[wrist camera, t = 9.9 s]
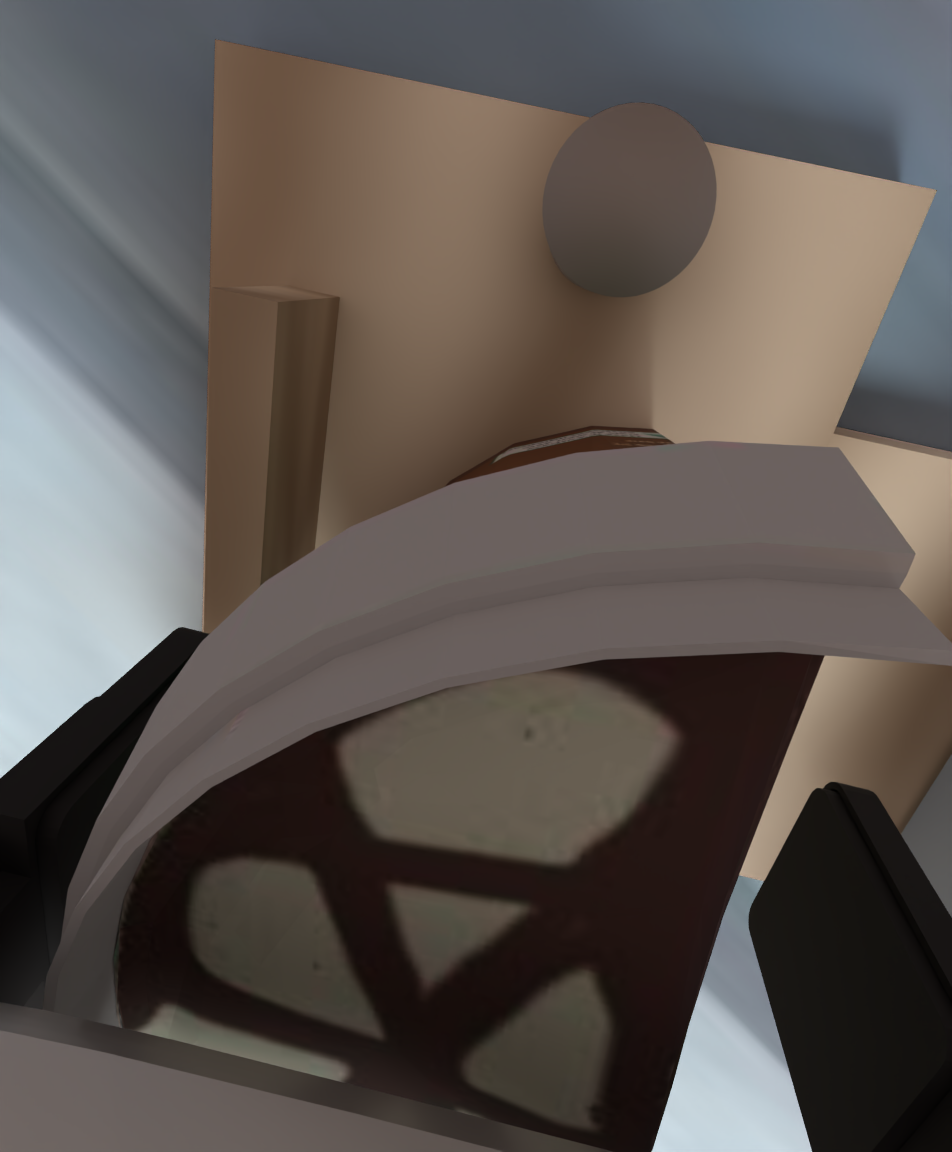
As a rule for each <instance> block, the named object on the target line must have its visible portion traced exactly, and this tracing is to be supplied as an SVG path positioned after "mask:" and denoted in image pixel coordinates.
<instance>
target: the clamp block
mask: <svg viewBox="0 0 952 1152" xmlns="http://www.w3.org/2000/svg"><path fill="white" fill-rule="evenodd" d="M901 835H902V837H903V839H904V840H905V842H906V844H907V845H908V847H909V848H910V850H911V852H912V853H913V855H914V857H915V858H916V860H917V862H918V863H919V865H920V866H921V868H922V870H923V871H924V873H925V875H926V876H927V878H928V880H929V881H930V883H931V885H932V886H933V888H934V889H935V891H936V893H937V894H938V896H939V898H940V899H941V901H942V903H943V904H944V906H945V907H946V909H947V911H948V912H949V914H950V916H951V917H952V754H951V756H950V757H949V759H948V761H947V762H946V764H945V765H944V767H943V768H942V770H941V772H940V773H939V775H938V776H937V778H936V779H935V781H934V783H933V784H932V786H931V787H930V789H929V791H928V792H927V794H926V795H925V797H924V798H923V800H922V802H921V803H920V805H919V806H918V808H917V810H916V811H915V813H914V814H913V816H912V817H911V819H910V821H909V822H908V824H907V825H906V827H905V828H904V830H903V832H902V833H901Z"/></svg>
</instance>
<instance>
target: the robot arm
mask: <svg viewBox="0 0 952 1152" xmlns="http://www.w3.org/2000/svg"><path fill="white" fill-rule="evenodd" d="M208 635H209V633H204V632H200V631H196V630H192V629H188V628H183V627H181V628H178V629H176V630H174V631H173V632H172V633H171V634H170V635H169V636H168V637H167V638H165V639H164V640H163V641H162V642H161V643H160V644H159V645H157V646H156V647H155V648H154V649H153V650H152V651H151V652H150V653H148V654H147V655H146V656H145V657H144V658H143V659H142V660H141V661H139V662H138V663H137V664H136V665H135V666H134V667H133V668H132V669H130V670H129V671H128V672H127V673H126V674H125V675H124V676H123V677H121V678H120V679H119V680H118V681H117V682H116V683H115V684H113V685H112V686H111V687H110V688H109V689H108V690H107V691H106V692H104V693H103V694H102V695H101V696H99V697H95V698H93V699H92V700H90V701H89V702H87V703H86V704H85V705H84V706H83V707H81V708H80V709H79V710H78V711H77V712H76V713H75V714H73V715H72V716H71V717H70V718H69V719H68V720H67V721H65V722H64V723H63V724H62V725H61V726H60V727H59V728H57V729H56V730H55V731H54V732H53V733H52V734H51V735H49V736H48V737H47V738H46V739H45V740H44V741H43V742H42V743H40V744H39V745H38V746H37V747H36V748H35V749H34V750H32V751H31V752H30V753H29V754H28V755H27V756H26V757H24V758H23V759H22V760H21V761H20V762H19V763H18V764H16V765H15V766H14V767H13V768H12V769H11V770H10V771H8V772H7V773H6V774H5V775H4V776H3V777H2V778H0V1152H612V1151H608V1150H605V1149H601V1148H597V1147H593V1146H589V1145H585V1144H581V1143H577V1142H574V1141H570V1140H566V1139H562V1138H558V1137H554V1136H550V1135H546V1134H543V1133H539V1132H535V1131H531V1130H527V1129H523V1128H519V1127H515V1126H512V1125H508V1124H504V1123H500V1122H496V1121H492V1120H488V1119H484V1118H481V1117H477V1116H473V1115H469V1114H465V1113H461V1112H457V1111H453V1110H449V1109H445V1108H442V1107H438V1106H434V1105H430V1104H426V1103H422V1102H418V1101H414V1100H410V1099H406V1098H403V1097H399V1096H395V1095H391V1094H387V1093H383V1092H379V1091H375V1090H371V1089H367V1088H363V1087H359V1086H355V1085H351V1084H347V1083H343V1082H339V1081H335V1080H331V1079H328V1078H324V1077H320V1076H316V1075H312V1074H308V1073H304V1072H300V1071H296V1070H292V1069H288V1068H284V1067H280V1066H276V1065H272V1064H268V1063H264V1062H260V1061H256V1060H252V1059H248V1058H244V1057H240V1056H236V1055H232V1054H228V1053H224V1052H220V1051H216V1050H212V1049H208V1048H204V1047H200V1046H196V1045H192V1044H188V1043H184V1042H180V1041H176V1040H172V1039H168V1038H164V1037H159V1036H155V1035H151V1034H146V1033H142V1032H138V1031H133V1030H129V1029H125V1028H120V1027H116V1026H112V1025H107V1024H103V1023H98V1022H94V1021H90V1020H85V1019H81V1018H77V1017H72V1016H68V1015H64V1014H59V1013H55V1012H51V1011H46V1010H42V1009H43V1001H44V993H45V985H46V976H47V973H48V971H49V969H50V966H51V964H52V961H53V959H54V957H55V954H56V952H57V949H58V947H59V945H60V942H61V936H62V928H63V921H64V914H65V907H66V900H67V893H68V888H69V885H70V883H71V881H72V878H73V876H74V873H75V871H76V868H77V866H78V864H79V861H80V859H81V856H82V854H83V851H84V849H85V846H86V844H87V842H88V839H89V837H90V834H91V832H92V829H93V827H94V825H95V822H96V820H97V818H98V816H99V814H100V813H101V811H102V809H103V807H104V805H105V803H106V801H107V799H108V797H109V795H110V793H111V792H112V790H113V788H114V786H115V784H116V782H117V780H118V778H119V776H120V774H121V772H122V771H123V769H124V767H125V765H126V763H127V761H128V759H129V757H130V755H131V753H132V751H133V750H134V748H135V746H136V744H137V742H138V740H139V738H140V736H141V734H142V732H143V730H144V729H145V727H146V725H147V723H148V721H149V719H150V717H151V715H152V713H153V711H154V709H155V708H156V706H157V704H158V703H159V702H160V700H161V699H162V697H163V696H164V694H165V693H166V692H167V690H168V689H169V687H170V686H171V684H172V683H173V682H174V680H175V679H176V677H177V676H178V674H179V673H180V672H181V670H182V669H183V667H184V666H185V664H186V663H187V662H188V660H189V659H190V657H191V656H192V654H193V653H194V652H195V650H196V649H197V647H198V646H199V644H200V643H201V642H202V641H203V640H204V639H205V638H206V637H207V636H208ZM749 930H750V935H751V938H752V942H753V945H754V949H755V952H756V956H757V959H758V963H759V966H760V970H761V973H762V977H763V980H764V984H765V987H766V991H767V994H768V998H769V1001H770V1005H771V1008H772V1012H773V1015H774V1019H775V1022H776V1026H777V1029H778V1033H779V1036H780V1040H781V1043H782V1047H783V1050H784V1054H785V1057H786V1061H787V1064H788V1068H789V1071H790V1075H791V1079H792V1082H793V1086H794V1089H795V1093H796V1096H797V1100H798V1103H799V1107H800V1110H801V1114H802V1117H803V1121H804V1124H805V1128H806V1131H807V1135H808V1138H809V1142H810V1145H811V1149H812V1152H952V917H951V916H950V914H949V912H948V911H947V909H946V907H945V906H944V904H943V903H942V901H941V899H940V898H939V896H938V894H937V893H936V891H935V889H934V888H933V886H932V885H931V883H930V881H929V880H928V878H927V876H926V875H925V873H924V871H923V870H922V868H921V866H920V865H919V863H918V862H917V860H916V858H915V857H914V855H913V853H912V852H911V850H910V848H909V847H908V845H907V844H906V842H905V840H904V839H903V837H902V835H901V834H900V832H899V830H898V829H897V827H896V826H895V824H894V822H893V821H892V819H891V817H890V816H889V814H888V812H887V811H886V809H885V807H884V806H883V804H882V803H881V801H880V799H879V798H878V796H877V795H876V794H875V793H874V792H872V791H870V790H868V789H863V788H859V787H855V786H851V785H847V784H842V783H838V782H829V783H828V784H826V785H825V786H824V788H823V789H822V788H816V789H815V790H813V791H812V793H811V794H810V796H809V798H808V800H807V802H806V803H805V805H804V807H803V809H802V811H801V813H800V815H799V817H798V819H797V820H796V822H795V824H794V826H793V828H792V830H791V832H790V834H789V835H788V837H787V839H786V841H785V843H784V845H783V847H782V849H781V851H780V852H779V854H778V856H777V858H776V860H775V862H774V864H773V866H772V867H771V869H770V871H769V873H768V875H767V877H766V879H765V881H764V883H763V884H762V886H761V888H760V890H759V892H758V894H757V896H756V898H755V899H754V901H753V903H752V905H751V908H750V912H749Z"/></svg>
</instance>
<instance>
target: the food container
mask: <svg viewBox="0 0 952 1152" xmlns="http://www.w3.org/2000/svg"><path fill="white" fill-rule="evenodd" d="M915 554H916V553H915V552H914V551H913V549H912V548H911V546H910V545H909V544H908V542H907V541H906V540H905V538H904V537H903V535H902V534H901V533H900V531H899V530H898V528H897V527H896V526H895V524H894V523H893V522H892V520H891V519H890V517H889V516H888V515H887V513H886V512H885V511H884V509H883V508H882V506H881V505H880V504H879V502H878V501H877V499H876V498H875V497H874V495H873V494H872V493H871V491H870V490H869V488H868V487H867V486H866V484H865V483H864V481H863V480H862V479H861V477H860V476H859V475H858V473H857V472H856V470H855V469H854V468H853V466H852V465H851V463H850V462H849V461H848V459H847V458H846V457H845V455H844V454H843V452H842V451H841V450H840V448H839V447H820V446H800V445H781V444H762V443H742V442H723V441H700V442H689V443H678V444H675V443H674V442H672V441H671V440H669V439H668V438H666V437H665V436H663V435H662V434H660V433H659V432H657V431H656V430H654V429H647V428H627V427H608V426H588V427H584V428H579V429H575V430H571V431H566V432H562V433H557V434H553V435H548V436H544V437H539V438H535V439H531V440H526V441H522V442H517V443H514V444H512V445H510V446H508V447H507V448H505V449H503V450H502V451H500V452H498V453H497V454H495V455H493V456H491V457H490V458H488V459H486V460H485V461H483V462H481V463H479V464H478V465H476V466H474V467H473V468H471V469H469V470H468V471H466V472H464V473H462V474H461V475H459V476H457V477H456V478H454V479H452V480H450V481H449V482H448V484H447V485H446V486H445V487H443V488H441V489H439V490H436V491H434V492H432V493H429V494H427V495H425V496H422V497H420V498H417V499H415V500H413V501H410V502H408V503H406V504H403V505H401V506H399V507H396V508H394V509H391V510H389V511H387V512H384V513H382V514H380V515H377V516H375V517H373V518H370V519H368V520H365V521H363V522H361V523H358V524H356V525H354V526H351V527H349V528H348V529H346V530H345V531H343V532H342V533H340V534H338V535H337V536H335V537H334V538H332V539H331V540H329V541H328V542H326V543H324V544H323V545H321V546H320V547H318V548H317V549H315V550H314V551H312V552H310V553H309V554H307V555H306V556H304V557H303V558H301V559H300V560H298V561H296V562H295V563H293V564H292V565H290V566H289V567H287V568H286V569H284V570H282V571H281V572H279V573H278V574H276V575H275V576H273V577H272V578H270V579H268V580H267V581H265V582H264V583H263V584H262V585H261V586H260V587H259V588H258V589H257V590H256V591H255V592H254V593H253V594H252V595H250V596H249V597H248V598H247V599H246V600H245V601H244V602H243V603H242V604H241V605H240V606H239V607H238V608H237V609H236V610H235V611H234V612H232V613H231V614H230V615H229V616H228V617H227V618H226V619H225V620H224V621H223V622H222V623H221V624H220V625H219V626H218V627H217V628H216V629H214V630H213V631H212V632H211V633H210V634H209V635H208V636H207V637H206V638H205V639H204V640H203V641H202V642H201V643H200V644H199V646H198V647H197V649H196V650H195V652H194V653H193V654H192V656H191V657H190V659H189V660H188V662H187V663H186V664H185V666H184V667H183V669H182V670H181V672H180V673H179V674H178V676H177V677H176V679H175V680H174V682H173V683H172V684H171V686H170V687H169V689H168V690H167V692H166V693H165V694H164V696H163V697H162V699H161V700H160V702H159V703H158V704H157V706H156V708H155V709H154V711H153V713H152V715H151V717H150V719H149V721H148V723H147V725H146V727H145V729H144V730H143V732H142V734H141V736H140V738H139V740H138V742H137V744H136V746H135V748H134V750H133V751H132V753H131V755H130V757H129V759H128V761H127V763H126V765H125V767H124V769H123V771H122V772H121V774H120V776H119V778H118V780H117V782H116V784H115V786H114V788H113V790H112V792H111V793H110V795H109V797H108V799H107V801H106V803H105V805H104V807H103V809H102V811H101V813H100V814H99V816H98V818H97V820H96V822H95V825H94V827H93V829H92V832H91V834H90V837H89V839H88V842H87V844H86V846H85V849H84V851H83V854H82V856H81V859H80V861H79V864H78V866H77V868H76V871H75V873H74V876H73V878H72V881H71V883H70V885H69V888H68V893H67V900H66V907H65V914H64V921H63V928H62V936H61V942H60V945H59V947H58V949H57V952H56V954H55V957H54V959H53V961H52V964H51V966H50V969H49V971H48V973H47V976H46V985H45V993H44V1001H43V1009H42V1010H46V1011H51V1012H55V1013H59V1014H64V1015H68V1016H72V1017H77V1018H81V1019H85V1020H90V1021H94V1022H98V1023H103V1024H107V1025H112V1026H116V1027H120V1028H125V1029H129V1030H133V1031H138V1032H142V1033H146V1034H151V1035H155V1036H159V1037H164V1038H168V1039H172V1040H176V1041H180V1042H184V1043H188V1044H192V1045H196V1046H200V1047H204V1048H208V1049H212V1050H216V1051H220V1052H224V1053H228V1054H232V1055H236V1056H240V1057H244V1058H248V1059H252V1060H256V1061H260V1062H264V1063H268V1064H272V1065H276V1066H280V1067H284V1068H288V1069H292V1070H296V1071H300V1072H304V1073H308V1074H312V1075H316V1076H320V1077H324V1078H328V1079H331V1080H335V1081H339V1082H343V1083H347V1084H351V1085H355V1086H359V1087H363V1088H367V1089H371V1090H375V1091H379V1092H383V1093H387V1094H391V1095H395V1096H399V1097H403V1098H406V1099H410V1100H414V1101H418V1102H422V1103H426V1104H430V1105H434V1106H438V1107H442V1108H445V1109H449V1110H453V1111H457V1112H461V1113H465V1114H469V1115H473V1116H477V1117H481V1118H484V1119H488V1120H492V1121H496V1122H500V1123H504V1124H508V1125H512V1126H515V1127H519V1128H523V1129H527V1130H531V1131H535V1132H539V1133H543V1134H546V1135H550V1136H554V1137H558V1138H562V1139H566V1140H570V1141H574V1142H577V1143H581V1144H585V1145H589V1146H593V1147H597V1148H601V1149H605V1150H608V1151H612V1152H651V1151H652V1149H653V1146H654V1143H655V1140H656V1136H657V1133H658V1130H659V1127H660V1124H661V1120H662V1117H663V1114H664V1111H665V1107H666V1104H667V1101H668V1098H669V1095H670V1091H671V1088H672V1085H673V1081H674V1077H675V1074H676V1070H677V1066H678V1062H679V1059H680V1055H681V1051H682V1048H683V1044H684V1040H685V1037H686V1033H687V1029H688V1026H689V1023H690V1019H691V1016H692V1013H693V1010H694V1007H695V1004H696V1000H697V997H698V994H699V991H700V988H701V985H702V981H703V978H704V975H705V972H706V969H707V966H708V962H709V959H710V956H711V953H712V950H713V947H714V943H715V940H716V937H717V934H718V931H719V928H720V924H721V921H722V918H723V915H724V912H725V910H726V907H727V905H728V902H729V900H730V897H731V894H732V892H733V889H734V887H735V884H736V881H737V879H738V876H739V874H740V871H741V869H742V866H743V863H744V861H745V858H746V856H747V853H748V850H749V848H750V845H751V843H752V840H753V838H754V835H755V832H756V830H757V827H758V825H759V822H760V820H761V817H762V814H763V812H764V809H765V807H766V804H767V801H768V799H769V796H770V794H771V791H772V789H773V786H774V783H775V781H776V778H777V776H778V773H779V770H780V768H781V765H782V763H783V760H784V758H785V755H786V753H787V750H788V747H789V745H790V742H791V740H792V737H793V735H794V732H795V730H796V727H797V725H798V722H799V720H800V717H801V715H802V712H803V710H804V707H805V705H806V702H807V699H808V697H809V694H810V692H811V689H812V687H813V684H814V682H815V679H816V677H817V674H818V672H819V669H820V667H821V664H822V662H823V659H824V657H825V656H838V657H850V658H862V659H874V660H886V661H899V662H911V663H923V664H935V665H948V666H952V643H951V642H950V641H949V640H948V639H947V638H946V637H945V636H944V635H943V634H942V632H941V631H940V630H939V629H938V628H937V627H936V626H935V625H934V624H933V623H932V622H931V621H930V620H929V619H928V618H927V617H926V616H925V615H924V614H923V613H922V612H921V611H920V610H919V609H918V607H917V606H916V605H915V604H914V603H913V602H912V601H911V600H910V599H909V598H908V597H907V596H906V595H905V594H904V593H903V592H902V591H901V590H900V589H899V588H900V586H901V585H902V583H903V581H904V579H905V577H906V576H907V574H908V572H909V569H910V567H911V564H912V562H913V559H914V557H915Z"/></svg>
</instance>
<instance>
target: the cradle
mask: <svg viewBox="0 0 952 1152" xmlns="http://www.w3.org/2000/svg"><path fill="white" fill-rule="evenodd" d="M936 191H937V190H934V189H929V188H924V187H919V186H915V185H910V184H905V183H900V182H895V181H891V180H886V179H881V178H876V177H872V176H867V175H862V174H857V173H852V172H848V171H843V170H838V169H833V168H828V167H824V166H819V165H814V164H809V163H805V162H800V161H795V160H790V159H785V158H781V157H776V156H771V155H766V154H762V153H757V152H752V151H747V150H742V149H738V148H733V147H728V146H723V145H718V144H714V143H709V142H704V140H703V139H702V137H701V136H700V134H699V133H698V132H697V130H696V129H695V128H694V127H693V126H692V125H691V124H690V123H689V122H688V121H687V120H686V119H685V118H683V117H682V116H680V115H679V114H677V113H676V112H674V111H672V110H670V109H668V108H665V107H662V106H659V105H655V104H650V103H627V104H621V105H617V106H614V107H611V108H608V109H605V110H603V111H602V112H600V113H598V114H596V115H594V116H593V117H591V118H589V117H585V116H580V115H575V114H570V113H565V112H561V111H556V110H551V109H546V108H542V107H537V106H532V105H527V104H522V103H518V102H513V101H508V100H503V99H499V98H494V97H489V96H484V95H479V94H475V93H470V92H465V91H460V90H455V89H451V88H446V87H441V86H436V85H432V84H427V83H422V82H417V81H412V80H408V79H403V78H398V77H393V76H389V75H384V74H379V73H374V72H369V71H365V70H360V69H355V68H350V67H345V66H341V65H336V64H331V63H326V62H322V61H317V60H312V59H307V58H302V57H298V56H293V55H288V54H283V53H279V52H274V51H269V50H264V49H259V48H255V47H250V46H245V45H240V44H235V43H231V42H226V41H221V40H216V39H215V68H214V114H213V160H212V206H211V252H210V298H209V344H208V390H207V436H206V481H205V527H204V573H203V619H202V632H204V633H209V634H210V633H211V632H212V631H213V630H214V629H216V628H217V627H218V626H219V625H220V624H221V623H222V622H223V621H224V620H225V619H226V618H227V617H228V616H229V615H230V614H231V613H232V612H234V611H235V610H236V609H237V608H238V607H239V606H240V605H241V604H242V603H243V602H244V601H245V600H246V599H247V598H248V597H249V596H250V595H252V594H253V593H254V592H255V591H256V590H257V589H258V588H259V587H260V586H261V585H262V584H263V583H264V582H265V581H267V580H268V579H270V578H272V577H273V576H275V575H276V574H278V573H279V572H281V571H282V570H284V569H286V568H287V567H289V566H290V565H292V564H293V563H295V562H296V561H298V560H300V559H301V558H303V557H304V556H306V555H307V554H309V553H310V552H312V551H314V550H315V549H317V548H318V547H320V546H321V545H323V544H324V543H326V542H328V541H329V540H331V539H332V538H334V537H335V536H337V535H338V534H340V533H342V532H343V531H345V530H346V529H348V528H349V527H351V526H354V525H356V524H358V523H361V522H363V521H365V520H368V519H370V518H373V517H375V516H377V515H380V514H382V513H384V512H387V511H389V510H391V509H394V508H396V507H399V506H401V505H403V504H406V503H408V502H410V501H413V500H415V499H417V498H420V497H422V496H425V495H427V494H429V493H432V492H434V491H436V490H439V489H441V488H443V487H445V486H446V485H447V484H448V482H449V481H450V480H452V479H454V478H456V477H457V476H459V475H461V474H462V473H464V472H466V471H468V470H469V469H471V468H473V467H474V466H476V465H478V464H479V463H481V462H483V461H485V460H486V459H488V458H490V457H491V456H493V455H495V454H497V453H498V452H500V451H502V450H503V449H505V448H507V447H508V446H510V445H512V444H514V443H517V442H522V441H526V440H531V439H535V438H539V437H544V436H548V435H553V434H557V433H562V432H566V431H571V430H575V429H579V428H584V427H588V426H608V427H627V428H647V429H654V430H656V431H657V432H659V433H660V434H662V435H663V436H665V437H666V438H668V439H669V440H671V441H672V442H674V443H675V444H678V443H689V442H700V441H723V442H742V443H762V444H781V445H800V446H820V447H839V448H840V450H841V451H842V452H843V454H844V455H845V457H846V458H847V459H848V461H849V462H850V463H851V465H852V466H853V468H854V469H855V470H856V472H857V473H858V475H859V476H860V477H861V479H862V480H863V481H864V483H865V484H866V486H867V487H868V488H869V490H870V491H871V493H872V494H873V495H874V497H875V498H876V499H877V501H878V502H879V504H880V505H881V506H882V508H883V509H884V511H885V512H886V513H887V515H888V516H889V517H890V519H891V520H892V522H893V523H894V524H895V526H896V527H897V528H898V530H899V531H900V533H901V534H902V535H903V537H904V538H905V540H906V541H907V542H908V544H909V545H910V546H911V548H912V549H913V551H914V552H915V553H916V554H915V557H914V559H913V562H912V564H911V567H910V569H909V572H908V574H907V576H906V577H905V579H904V581H903V583H902V585H901V586H900V588H899V589H900V590H901V591H902V592H903V593H904V594H905V595H906V596H907V597H908V598H909V599H910V600H911V601H912V602H913V603H914V604H915V605H916V606H917V607H918V609H919V610H920V611H921V612H922V613H923V614H924V615H925V616H926V617H927V618H928V619H929V620H930V621H931V622H932V623H933V624H934V625H935V626H936V627H937V628H938V629H939V630H940V631H941V632H942V634H943V635H944V636H945V637H946V638H947V639H948V640H949V641H950V642H951V643H952V452H950V451H945V450H941V449H936V448H932V447H927V446H923V445H918V444H913V443H909V442H904V441H900V440H895V439H890V438H886V437H881V436H877V435H872V434H868V433H863V432H858V431H854V430H849V429H845V428H840V427H836V426H837V424H838V421H839V419H840V417H841V414H842V412H843V410H844V407H845V405H846V403H847V400H848V398H849V396H850V393H851V391H852V389H853V386H854V384H855V381H856V379H857V377H858V374H859V372H860V370H861V367H862V365H863V363H864V360H865V358H866V356H867V353H868V351H869V349H870V346H871V344H872V342H873V339H874V337H875V335H876V332H877V330H878V327H879V325H880V323H881V320H882V318H883V316H884V313H885V311H886V309H887V306H888V304H889V302H890V299H891V297H892V295H893V292H894V290H895V288H896V285H897V283H898V281H899V278H900V276H901V273H902V271H903V269H904V266H905V264H906V262H907V259H908V257H909V255H910V252H911V250H912V248H913V245H914V243H915V241H916V238H917V236H918V234H919V231H920V229H921V227H922V224H923V222H924V219H925V217H926V215H927V212H928V210H929V208H930V205H931V203H932V201H933V198H934V196H935V194H936ZM951 754H952V666H948V665H935V664H923V663H911V662H899V661H886V660H874V659H862V658H850V657H838V656H825V657H824V659H823V662H822V664H821V667H820V669H819V672H818V674H817V677H816V679H815V682H814V684H813V687H812V689H811V692H810V694H809V697H808V699H807V702H806V705H805V707H804V710H803V712H802V715H801V717H800V720H799V722H798V725H797V727H796V730H795V732H794V735H793V737H792V740H791V742H790V745H789V747H788V750H787V753H786V755H785V758H784V760H783V763H782V765H781V768H780V770H779V773H778V776H777V778H776V781H775V783H774V786H773V789H772V791H771V794H770V796H769V799H768V801H767V804H766V807H765V809H764V812H763V814H762V817H761V820H760V822H759V825H758V827H757V830H756V832H755V835H754V838H753V840H752V843H751V845H750V848H749V850H748V853H747V856H746V858H745V861H744V863H743V866H742V869H741V871H740V874H739V875H740V876H745V877H749V878H753V879H757V880H761V881H765V879H766V877H767V875H768V873H769V871H770V869H771V867H772V866H773V864H774V862H775V860H776V858H777V856H778V854H779V852H780V851H781V849H782V847H783V845H784V843H785V841H786V839H787V837H788V835H789V834H790V832H791V830H792V828H793V826H794V824H795V822H796V820H797V819H798V817H799V815H800V813H801V811H802V809H803V807H804V805H805V803H806V802H807V800H808V798H809V796H810V794H811V793H812V791H813V790H815V789H816V788H822V789H823V788H824V786H825V785H826V784H828V783H829V782H838V783H842V784H847V785H851V786H855V787H859V788H863V789H868V790H870V791H872V792H874V793H875V794H876V795H877V796H878V798H879V799H880V801H881V803H882V804H883V806H884V807H885V809H886V811H887V812H888V814H889V816H890V817H891V819H892V821H893V822H894V824H895V826H896V827H897V829H898V830H899V832H900V834H901V833H902V832H903V830H904V828H905V827H906V825H907V824H908V822H909V821H910V819H911V817H912V816H913V814H914V813H915V811H916V810H917V808H918V806H919V805H920V803H921V802H922V800H923V798H924V797H925V795H926V794H927V792H928V791H929V789H930V787H931V786H932V784H933V783H934V781H935V779H936V778H937V776H938V775H939V773H940V772H941V770H942V768H943V767H944V765H945V764H946V762H947V761H948V759H949V757H950V756H951Z"/></svg>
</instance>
